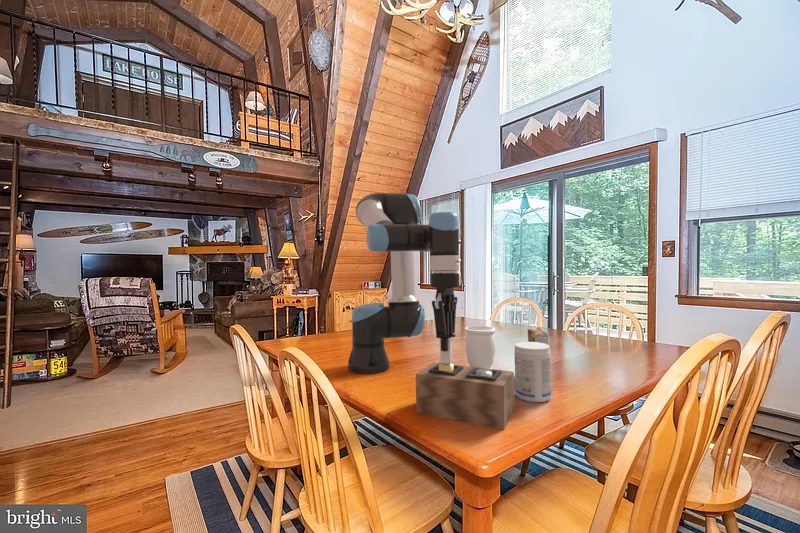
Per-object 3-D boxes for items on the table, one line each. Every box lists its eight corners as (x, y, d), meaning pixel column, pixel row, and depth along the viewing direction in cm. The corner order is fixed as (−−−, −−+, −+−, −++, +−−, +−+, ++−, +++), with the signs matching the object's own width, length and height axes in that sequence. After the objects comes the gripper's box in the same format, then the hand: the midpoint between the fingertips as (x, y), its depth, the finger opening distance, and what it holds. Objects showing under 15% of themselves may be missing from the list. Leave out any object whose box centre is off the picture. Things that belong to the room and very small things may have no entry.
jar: (459, 369, 134) (459, 327, 133) (483, 365, 138) (482, 324, 138) (477, 377, 124) (477, 331, 124) (502, 372, 128) (501, 329, 128)
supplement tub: (542, 390, 110) (541, 340, 110) (557, 402, 100) (557, 348, 100) (510, 391, 109) (509, 341, 109) (522, 404, 100) (521, 349, 100)
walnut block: (416, 413, 95) (415, 371, 95) (434, 397, 106) (433, 360, 106) (504, 429, 85) (503, 383, 85) (514, 410, 96) (513, 369, 95)
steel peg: (474, 412, 92) (474, 372, 92) (479, 407, 96) (478, 368, 96) (490, 415, 90) (490, 374, 90) (494, 409, 94) (494, 370, 94)
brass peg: (436, 403, 97) (436, 364, 97) (442, 398, 100) (441, 360, 100) (451, 405, 95) (450, 366, 95) (456, 400, 98) (455, 362, 98)
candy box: (527, 372, 128) (527, 328, 127) (540, 372, 127) (540, 328, 127) (535, 381, 119) (535, 333, 119) (549, 381, 118) (548, 333, 118)
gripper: (449, 272, 90) (451, 370, 90) (466, 271, 101) (467, 358, 101) (421, 273, 93) (423, 367, 93) (440, 271, 105) (441, 355, 105)
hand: (446, 362), depth 97 cm, fingers closed
